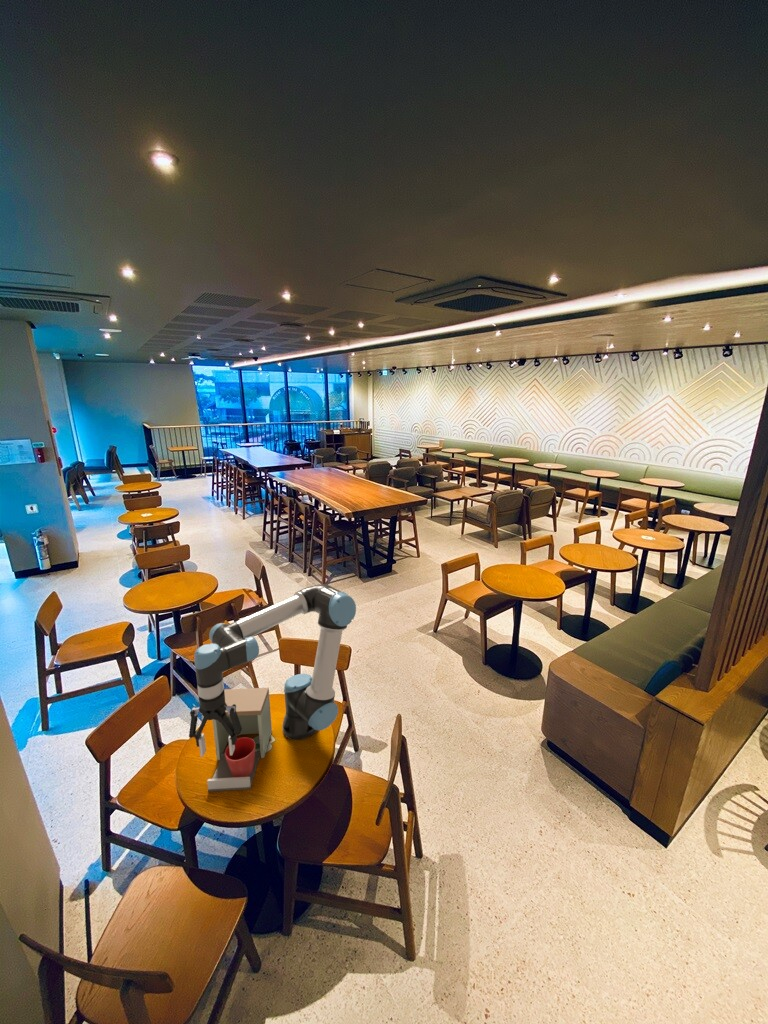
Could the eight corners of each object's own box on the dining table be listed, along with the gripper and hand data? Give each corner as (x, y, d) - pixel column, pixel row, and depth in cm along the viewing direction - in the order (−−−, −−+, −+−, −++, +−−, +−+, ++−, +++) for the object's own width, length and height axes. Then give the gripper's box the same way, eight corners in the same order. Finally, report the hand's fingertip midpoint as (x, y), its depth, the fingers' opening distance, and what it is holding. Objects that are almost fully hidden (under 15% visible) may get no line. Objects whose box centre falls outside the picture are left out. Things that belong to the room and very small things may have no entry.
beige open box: (271, 730, 167) (268, 687, 163) (264, 757, 154) (260, 711, 149) (228, 732, 166) (224, 689, 162) (216, 760, 153) (211, 713, 148)
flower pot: (220, 779, 143) (218, 757, 141) (238, 755, 154) (236, 734, 151) (246, 785, 141) (244, 763, 139) (262, 761, 151) (261, 739, 149)
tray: (260, 755, 155) (259, 746, 154) (250, 789, 140) (249, 778, 139) (222, 757, 154) (221, 748, 153) (208, 791, 139) (207, 781, 139)
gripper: (249, 683, 129) (254, 742, 134) (181, 686, 128) (189, 745, 133) (242, 698, 122) (247, 760, 127) (171, 701, 121) (179, 763, 125)
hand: (217, 752), depth 130 cm, fingers open, 9 cm apart
